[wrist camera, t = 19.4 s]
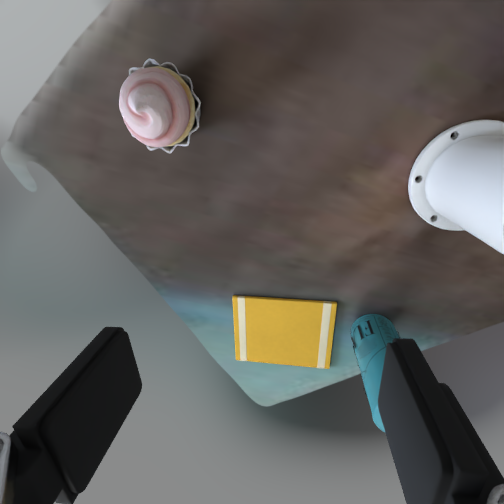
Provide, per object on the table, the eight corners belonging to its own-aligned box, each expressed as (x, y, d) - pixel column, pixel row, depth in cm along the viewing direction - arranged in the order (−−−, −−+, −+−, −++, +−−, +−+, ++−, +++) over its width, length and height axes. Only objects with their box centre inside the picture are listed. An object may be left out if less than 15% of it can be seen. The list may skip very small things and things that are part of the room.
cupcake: (133, 131, 38) (82, 134, 29) (151, 52, 34) (97, 27, 25) (199, 162, 38) (168, 174, 29) (223, 87, 34) (197, 75, 25)
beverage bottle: (364, 299, 43) (413, 427, 25) (402, 319, 43) (477, 460, 25) (339, 329, 46) (366, 464, 27) (375, 347, 46) (425, 492, 28)
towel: (336, 301, 44) (337, 304, 43) (328, 366, 49) (329, 369, 48) (233, 295, 46) (232, 297, 45) (236, 357, 51) (235, 360, 51)
